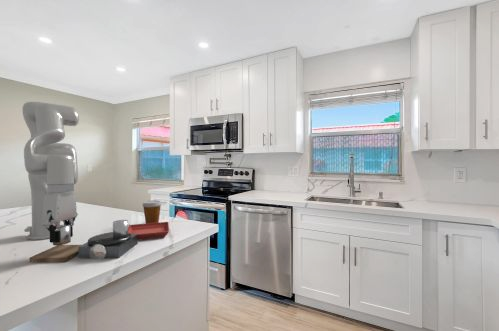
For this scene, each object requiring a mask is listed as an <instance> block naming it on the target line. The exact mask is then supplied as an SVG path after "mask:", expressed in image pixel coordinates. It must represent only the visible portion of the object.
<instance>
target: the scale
mask: <svg viewBox="0 0 499 331" xmlns="http://www.w3.org/2000/svg"><path fill="white" fill-rule="evenodd" d="M138 242H139V240H138V234H130V233H128V237H127V238H124V239H113V231H111V232H105V233H101V234H96V235H93V236H92V237H89V238H88V239H87V242H85V243H83V244H80V245H81V246H79V247H78V255H77V257H78V259H92V260H103V259H119V258H121V257H122V256H124V255H125V254H126V253H128V252H130V251H131V250H132V248H134V247H135V246H137V245H138Z"/></svg>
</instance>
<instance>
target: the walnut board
mask: <svg viewBox="0 0 499 331" xmlns="http://www.w3.org/2000/svg"><path fill="white" fill-rule="evenodd" d="M81 245H82V244H64V245H54V246H53V247H51V248H48V249H46V250H43V251H41V252H39V253H37V254H34V255H33V256H30V257H28V258H29V259H28V260H29V263H66V262H68V261H70V260H72V259H74V258H75V257H78V247H79V246H81Z"/></svg>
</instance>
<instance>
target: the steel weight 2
mask: <svg viewBox="0 0 499 331" xmlns="http://www.w3.org/2000/svg"><path fill="white" fill-rule="evenodd" d="M128 227H129V219H119V220H118V219H117V220H114V221H112V232H113V239H124V238H127V237H128Z"/></svg>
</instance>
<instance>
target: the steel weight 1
mask: <svg viewBox="0 0 499 331" xmlns="http://www.w3.org/2000/svg"><path fill="white" fill-rule="evenodd" d="M58 231H60V242H58V243H52V245H53V246H57V245H68V244H69V243H71V240H72V239H71V238H72V237H71V231H70V225H69V224H65V225H64V224H60V226H59V230H58Z"/></svg>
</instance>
